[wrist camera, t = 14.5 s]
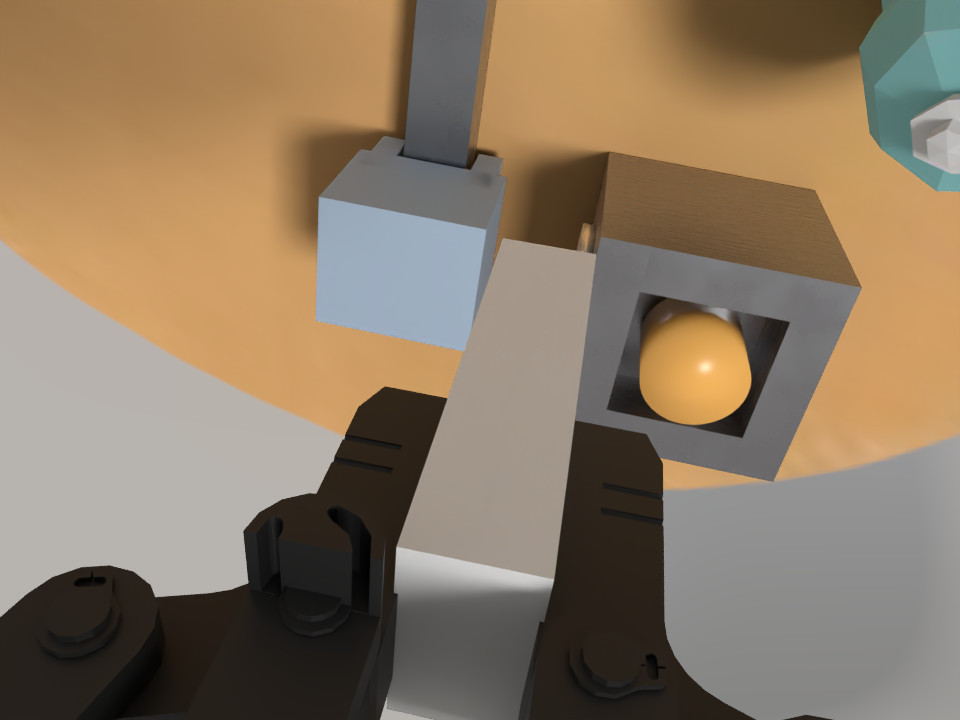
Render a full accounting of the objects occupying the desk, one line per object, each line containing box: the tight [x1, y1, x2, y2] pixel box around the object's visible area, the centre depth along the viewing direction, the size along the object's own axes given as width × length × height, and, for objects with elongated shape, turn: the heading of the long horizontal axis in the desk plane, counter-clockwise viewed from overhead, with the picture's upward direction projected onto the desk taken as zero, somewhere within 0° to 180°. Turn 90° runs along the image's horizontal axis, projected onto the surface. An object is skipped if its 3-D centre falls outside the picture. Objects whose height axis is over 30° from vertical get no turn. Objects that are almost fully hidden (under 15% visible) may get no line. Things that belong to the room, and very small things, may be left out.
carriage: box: [316, 136, 507, 351], centre depth 38 cm, size 6×7×8 cm
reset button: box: [640, 298, 751, 425], centre depth 35 cm, size 4×4×4 cm
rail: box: [404, 0, 496, 170], centre depth 37 cm, size 22×5×4 cm, turn 172°
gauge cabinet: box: [575, 152, 862, 482], centre depth 38 cm, size 10×11×10 cm
